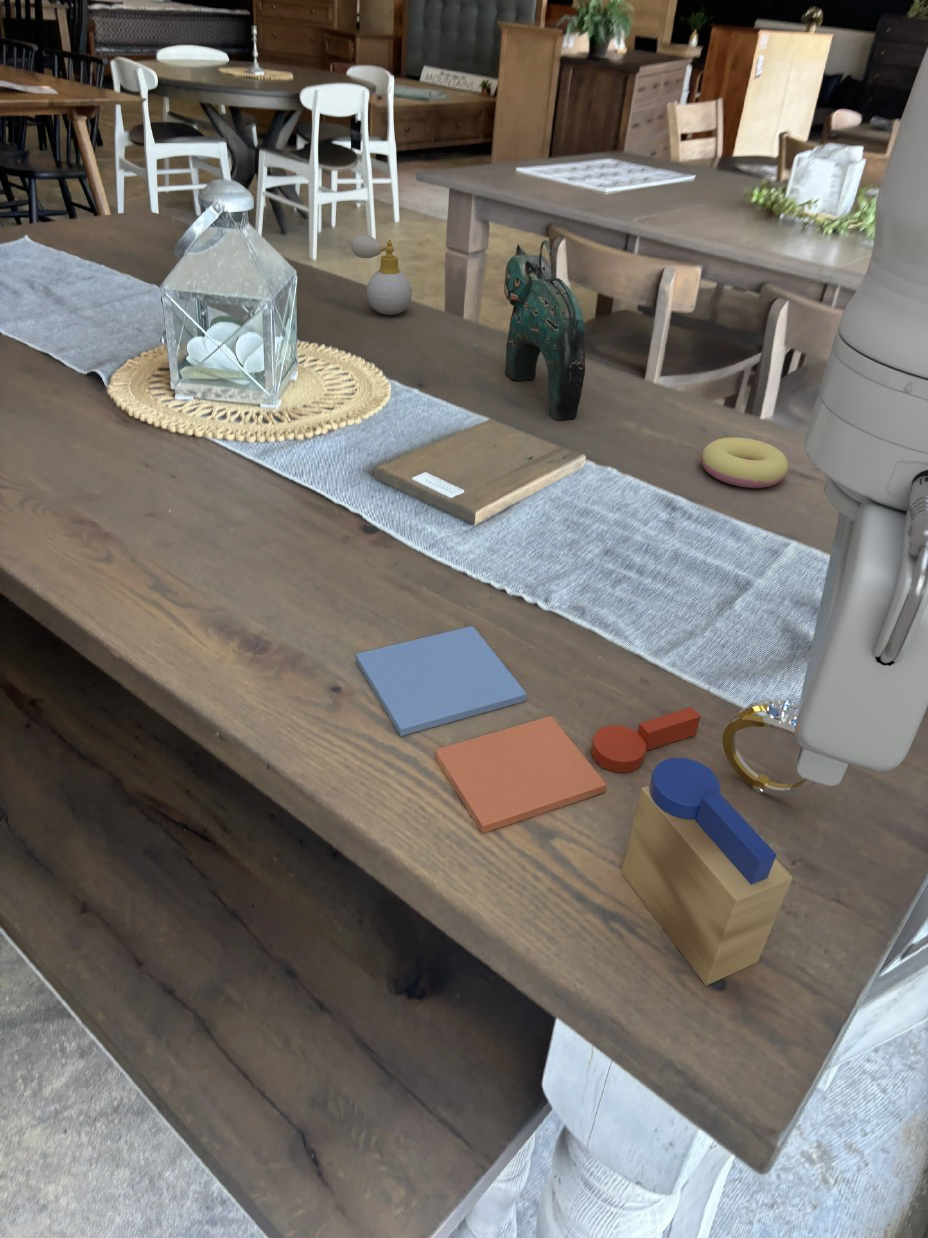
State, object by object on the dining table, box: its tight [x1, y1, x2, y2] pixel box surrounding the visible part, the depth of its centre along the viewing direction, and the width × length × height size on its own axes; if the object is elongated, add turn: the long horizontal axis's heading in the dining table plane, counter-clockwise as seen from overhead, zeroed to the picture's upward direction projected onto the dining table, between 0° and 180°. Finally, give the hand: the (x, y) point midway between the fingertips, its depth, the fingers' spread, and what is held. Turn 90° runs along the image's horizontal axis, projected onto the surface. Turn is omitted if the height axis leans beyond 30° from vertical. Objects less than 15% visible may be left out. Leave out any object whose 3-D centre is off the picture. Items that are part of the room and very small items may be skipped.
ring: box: [721, 697, 816, 798], centre depth 64 cm, size 7×3×8 cm, turn 49°
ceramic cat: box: [503, 239, 586, 422], centre depth 121 cm, size 20×6×20 cm, turn 20°
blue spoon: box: [649, 757, 777, 885], centre depth 52 cm, size 9×4×2 cm, turn 26°
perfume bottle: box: [350, 234, 413, 316], centre depth 149 cm, size 8×10×12 cm
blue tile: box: [355, 625, 528, 737], centre depth 75 cm, size 10×11×1 cm
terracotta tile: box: [434, 715, 607, 834], centre depth 66 cm, size 8×10×1 cm
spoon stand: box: [621, 784, 793, 986], centre depth 55 cm, size 9×4×8 cm, turn 26°
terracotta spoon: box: [590, 706, 701, 774], centre depth 69 cm, size 9×4×2 cm, turn 116°
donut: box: [701, 436, 789, 489], centre depth 109 cm, size 10×5×9 cm
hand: (828, 705), depth 42 cm, fingers open, 8 cm apart
